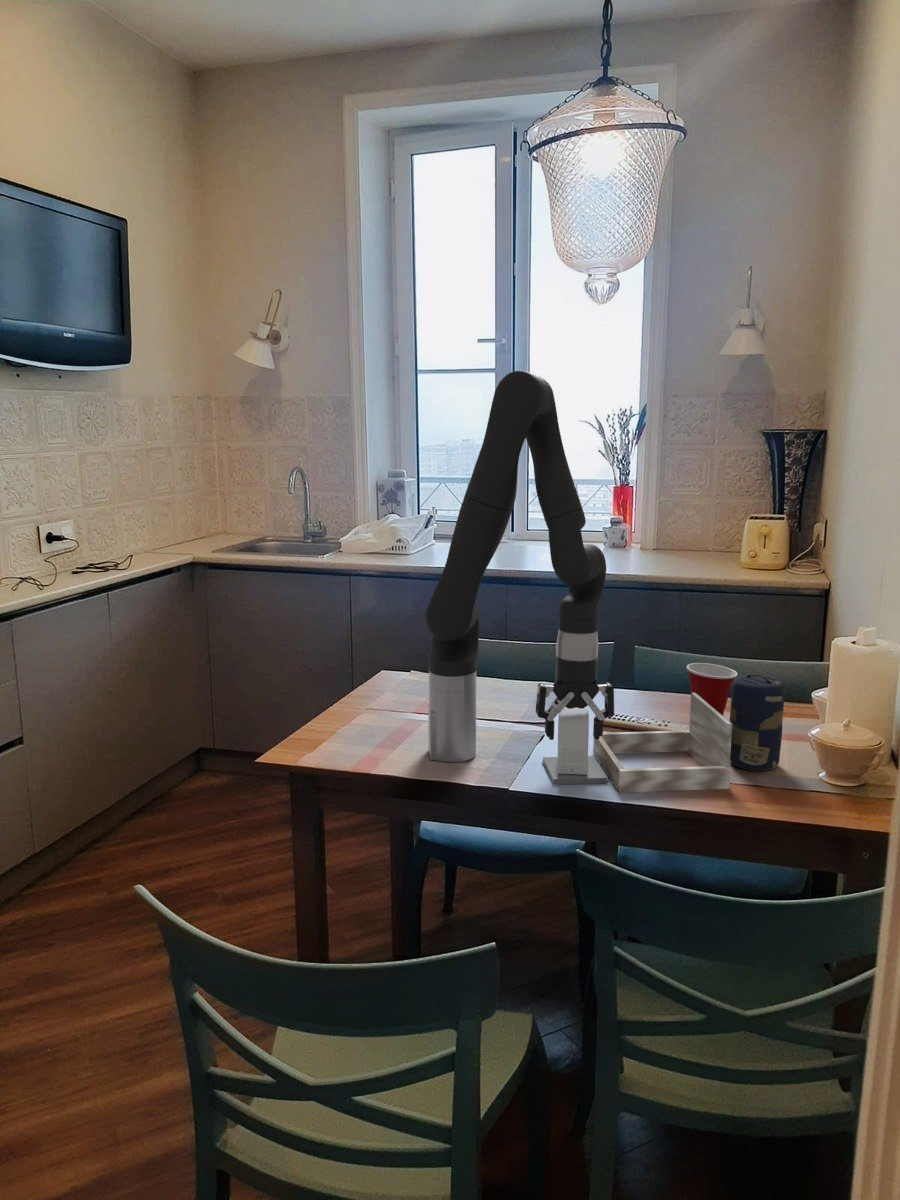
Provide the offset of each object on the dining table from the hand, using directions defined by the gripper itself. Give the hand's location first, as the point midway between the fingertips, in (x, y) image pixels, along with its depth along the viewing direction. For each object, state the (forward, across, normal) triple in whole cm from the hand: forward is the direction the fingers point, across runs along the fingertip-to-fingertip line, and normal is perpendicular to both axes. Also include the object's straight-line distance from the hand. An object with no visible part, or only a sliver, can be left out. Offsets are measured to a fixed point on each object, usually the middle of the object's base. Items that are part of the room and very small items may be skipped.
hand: (573, 738), depth 166 cm
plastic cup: (+7, +36, +28) cm, 46 cm away
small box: (+6, 0, 0) cm, 6 cm away
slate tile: (+7, 0, 0) cm, 7 cm away
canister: (+7, +35, +2) cm, 36 cm away
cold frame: (+7, +16, 0) cm, 18 cm away
